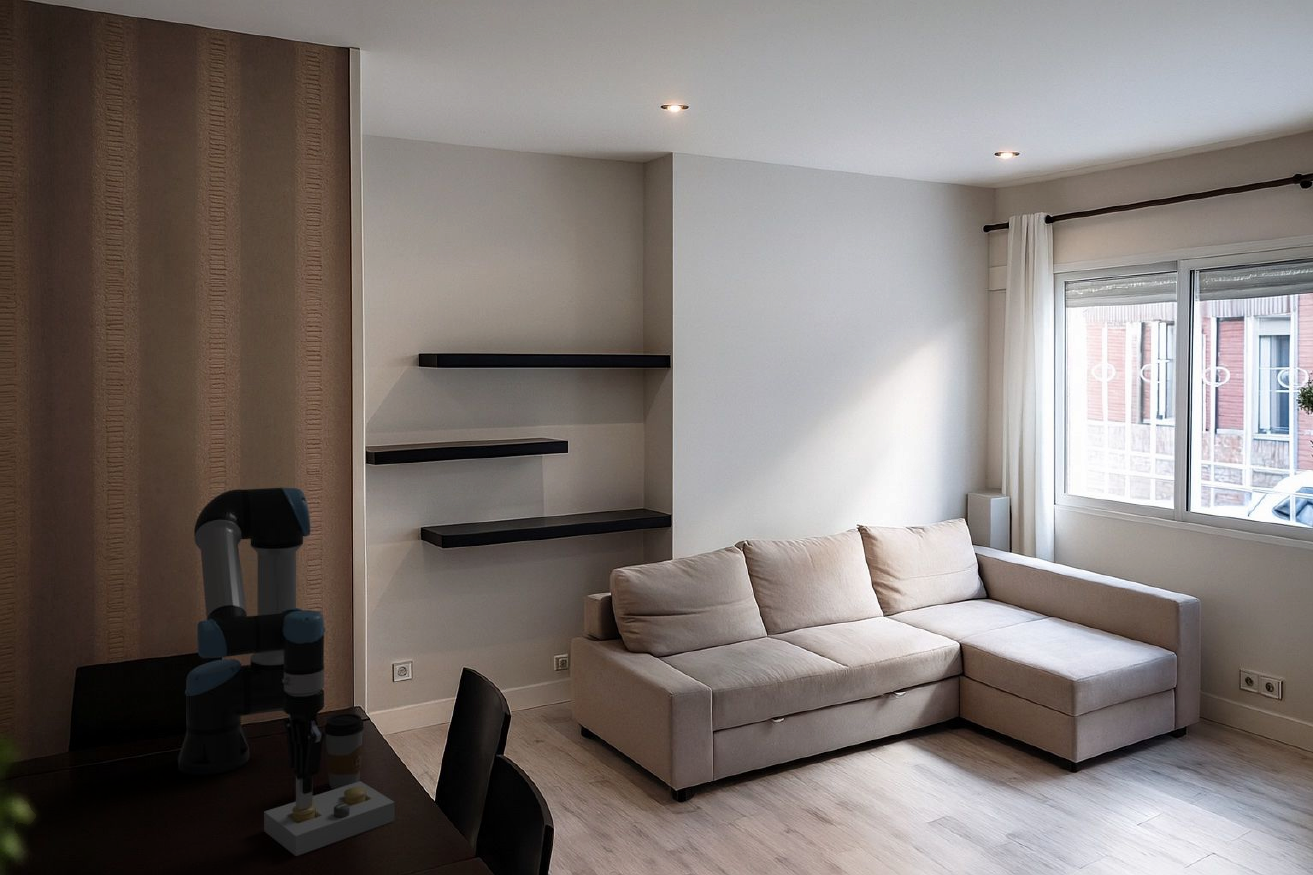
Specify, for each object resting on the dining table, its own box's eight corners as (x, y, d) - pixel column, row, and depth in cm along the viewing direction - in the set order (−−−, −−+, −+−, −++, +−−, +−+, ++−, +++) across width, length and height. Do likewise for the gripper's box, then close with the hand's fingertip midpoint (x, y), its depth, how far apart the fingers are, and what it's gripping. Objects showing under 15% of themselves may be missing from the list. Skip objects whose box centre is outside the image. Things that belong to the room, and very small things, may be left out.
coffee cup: (351, 794, 207) (351, 727, 206) (317, 790, 209) (317, 724, 208) (370, 779, 215) (370, 714, 214) (337, 775, 217) (337, 711, 216)
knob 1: (288, 827, 188) (288, 807, 188) (309, 820, 192) (309, 800, 191) (298, 834, 185) (298, 814, 185) (319, 827, 188) (319, 807, 188)
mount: (264, 830, 190) (264, 802, 189) (360, 799, 205) (360, 772, 205) (296, 856, 180) (295, 826, 180) (394, 820, 195) (394, 793, 195)
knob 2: (340, 809, 196) (340, 791, 196) (359, 803, 199) (359, 784, 199) (350, 816, 193) (350, 797, 193) (370, 810, 196) (370, 791, 196)
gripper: (270, 686, 189) (271, 802, 190) (300, 703, 180) (301, 823, 181) (306, 678, 194) (307, 790, 195) (337, 694, 185) (337, 811, 186)
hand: (304, 806), depth 188 cm, fingers closed
